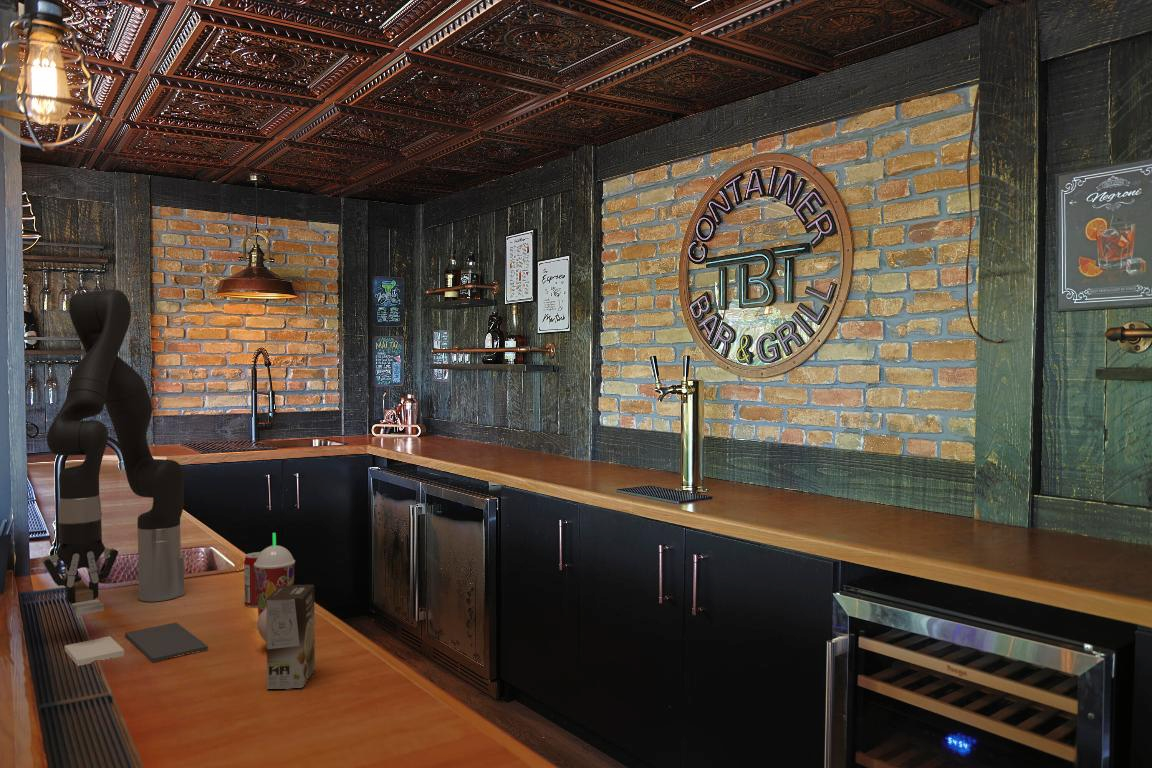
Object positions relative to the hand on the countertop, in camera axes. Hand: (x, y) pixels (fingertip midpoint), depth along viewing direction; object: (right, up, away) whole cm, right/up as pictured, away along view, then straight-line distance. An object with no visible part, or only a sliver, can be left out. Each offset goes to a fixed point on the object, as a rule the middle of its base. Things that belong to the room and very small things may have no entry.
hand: (82, 601), depth 170 cm
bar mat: (+18, -8, -2) cm, 20 cm away
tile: (+3, -8, -3) cm, 9 cm away
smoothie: (+36, -8, +9) cm, 38 cm away
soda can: (+26, -7, +25) cm, 37 cm away
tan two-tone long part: (0, -1, 0) cm, 1 cm away
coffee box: (+50, -9, -21) cm, 55 cm away
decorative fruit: (+42, -8, -5) cm, 44 cm away
